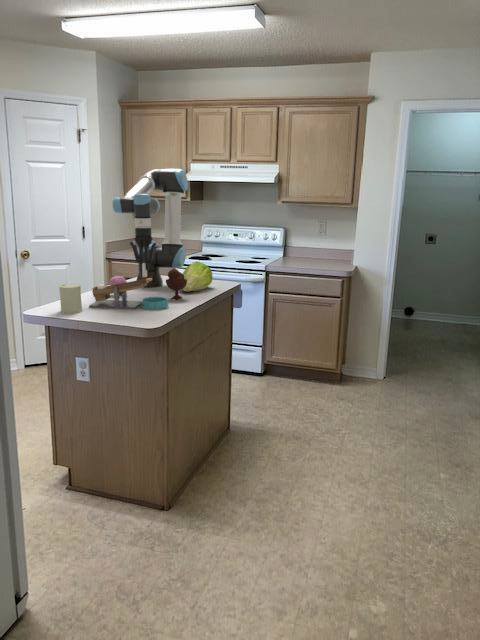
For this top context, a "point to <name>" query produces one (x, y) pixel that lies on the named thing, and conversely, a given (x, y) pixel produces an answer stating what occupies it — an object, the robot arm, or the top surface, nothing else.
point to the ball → (101, 286)
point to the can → (70, 298)
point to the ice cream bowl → (176, 282)
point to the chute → (105, 292)
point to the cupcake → (117, 280)
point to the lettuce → (197, 276)
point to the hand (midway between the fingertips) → (144, 276)
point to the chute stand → (117, 302)
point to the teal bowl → (155, 303)
